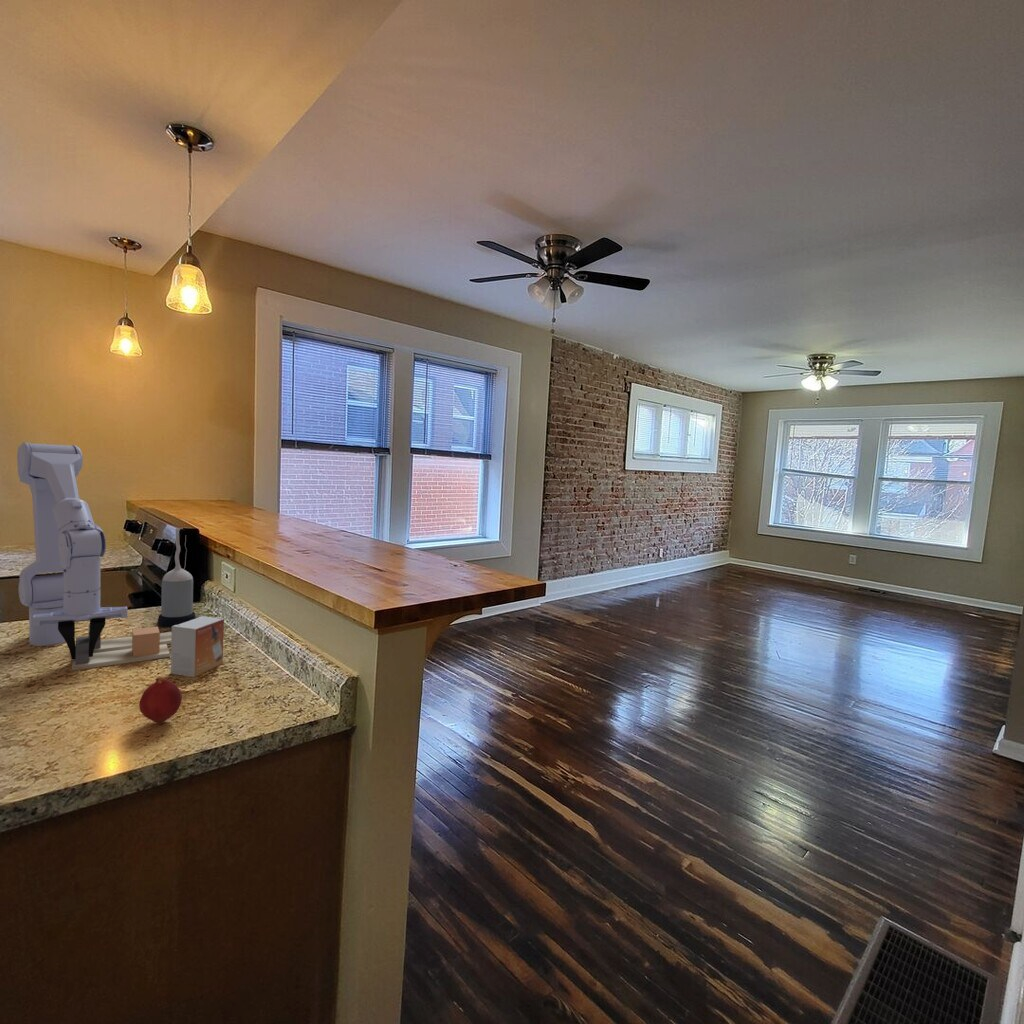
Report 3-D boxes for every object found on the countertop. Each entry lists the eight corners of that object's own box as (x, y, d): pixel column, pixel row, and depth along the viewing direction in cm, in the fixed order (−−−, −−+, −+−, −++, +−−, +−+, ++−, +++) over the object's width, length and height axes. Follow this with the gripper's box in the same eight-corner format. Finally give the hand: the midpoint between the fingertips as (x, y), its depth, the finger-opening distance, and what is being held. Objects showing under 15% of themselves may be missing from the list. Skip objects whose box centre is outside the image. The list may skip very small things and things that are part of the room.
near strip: (73, 659, 108) (73, 636, 108) (166, 647, 118) (166, 626, 118) (72, 670, 103) (72, 646, 103) (169, 656, 113) (170, 634, 113)
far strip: (85, 645, 116) (85, 623, 116) (172, 635, 126) (172, 615, 126) (85, 654, 111) (85, 632, 111) (175, 643, 121) (175, 622, 121)
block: (132, 649, 114) (132, 629, 113) (157, 646, 116) (157, 626, 116) (133, 656, 110) (133, 635, 110) (159, 653, 113) (159, 632, 112)
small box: (194, 681, 104) (195, 629, 103) (169, 677, 105) (170, 625, 104) (223, 667, 112) (225, 618, 111) (200, 663, 113) (201, 615, 112)
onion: (152, 714, 91) (153, 668, 90) (188, 714, 91) (188, 669, 91) (131, 731, 85) (131, 682, 84) (169, 731, 86) (170, 683, 85)
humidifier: (156, 623, 136) (157, 526, 134) (193, 619, 141) (195, 526, 139) (158, 632, 130) (160, 531, 127) (197, 628, 135) (199, 530, 132)
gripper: (31, 598, 98) (31, 669, 99) (128, 591, 107) (127, 656, 108) (34, 589, 103) (34, 657, 104) (126, 583, 112) (126, 646, 114)
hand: (82, 656), depth 107 cm, fingers closed on near strip, 2 cm apart
